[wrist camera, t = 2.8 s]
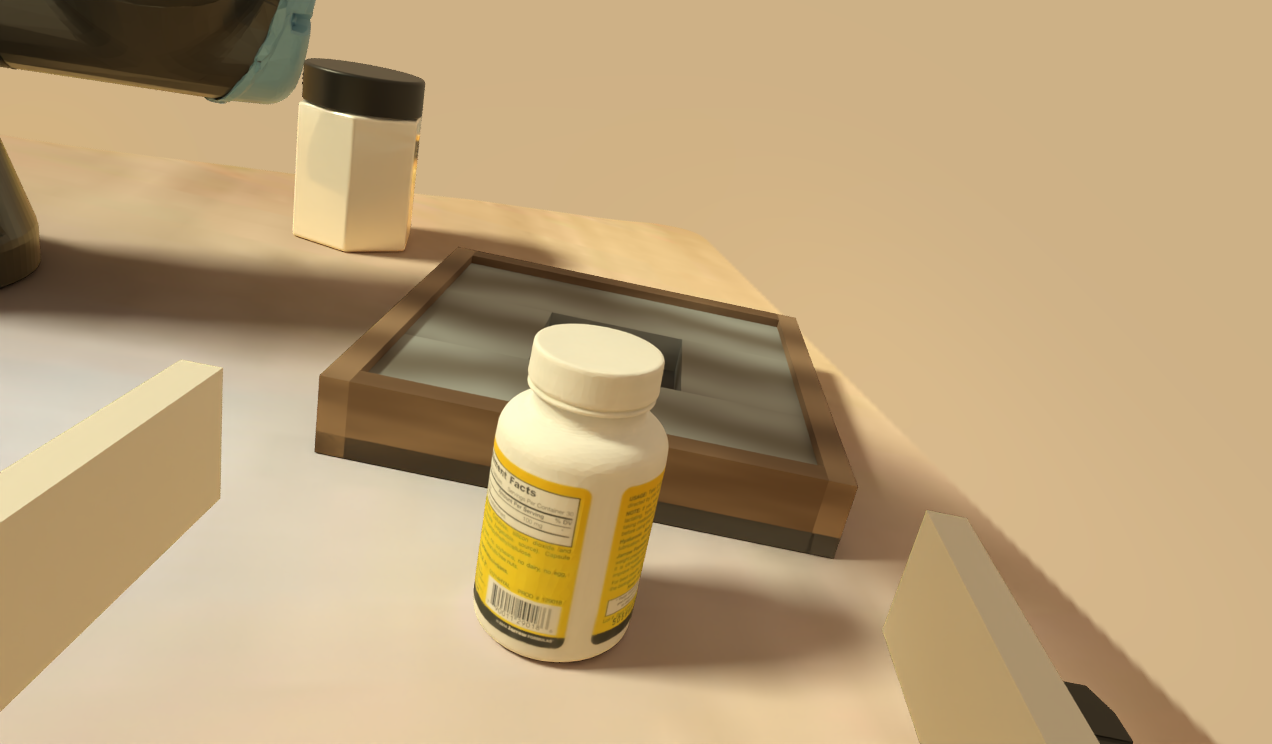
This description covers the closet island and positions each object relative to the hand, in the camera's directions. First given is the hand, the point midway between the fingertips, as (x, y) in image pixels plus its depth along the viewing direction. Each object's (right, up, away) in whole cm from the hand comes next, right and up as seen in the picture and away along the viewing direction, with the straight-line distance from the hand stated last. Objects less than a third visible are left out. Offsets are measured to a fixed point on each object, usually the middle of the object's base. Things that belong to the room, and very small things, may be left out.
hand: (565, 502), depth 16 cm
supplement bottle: (-2, -6, +13) cm, 15 cm away
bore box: (-1, +1, +30) cm, 30 cm away
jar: (-20, +12, +48) cm, 54 cm away
